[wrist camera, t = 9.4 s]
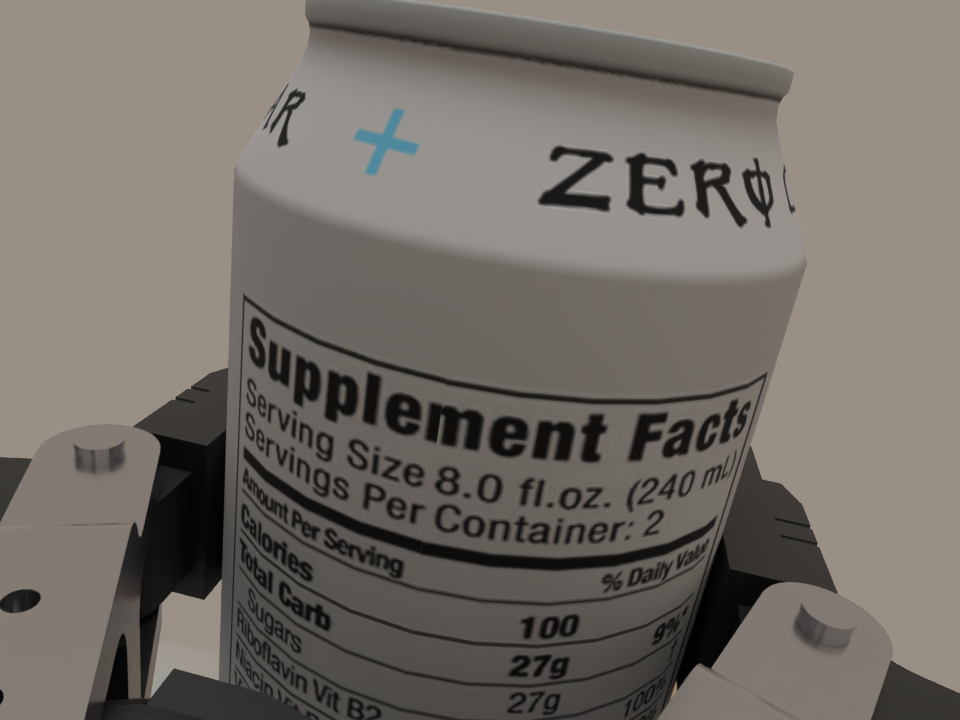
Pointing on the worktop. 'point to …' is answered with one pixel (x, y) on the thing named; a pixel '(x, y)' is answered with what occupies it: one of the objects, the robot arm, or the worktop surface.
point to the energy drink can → (494, 361)
